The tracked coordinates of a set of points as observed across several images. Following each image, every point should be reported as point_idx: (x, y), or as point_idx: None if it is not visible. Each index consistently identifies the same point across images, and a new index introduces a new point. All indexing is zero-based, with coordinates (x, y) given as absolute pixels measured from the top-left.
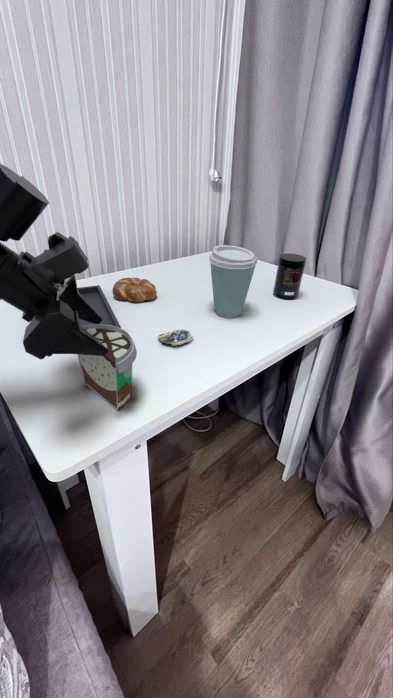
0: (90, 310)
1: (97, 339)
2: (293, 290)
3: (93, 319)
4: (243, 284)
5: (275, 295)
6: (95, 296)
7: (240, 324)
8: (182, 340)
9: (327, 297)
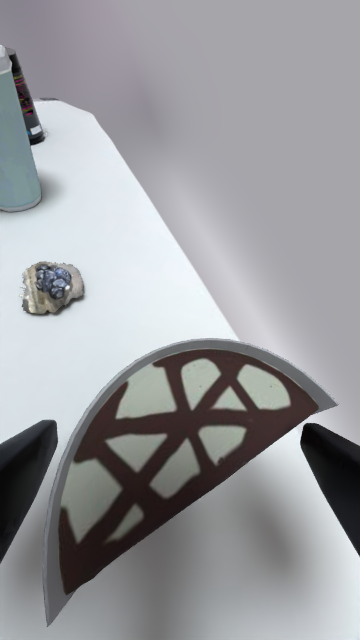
0: (2, 480)
1: (162, 460)
2: (37, 121)
3: (40, 466)
4: (22, 119)
5: None
6: None
7: (67, 201)
8: (72, 278)
9: (64, 119)
